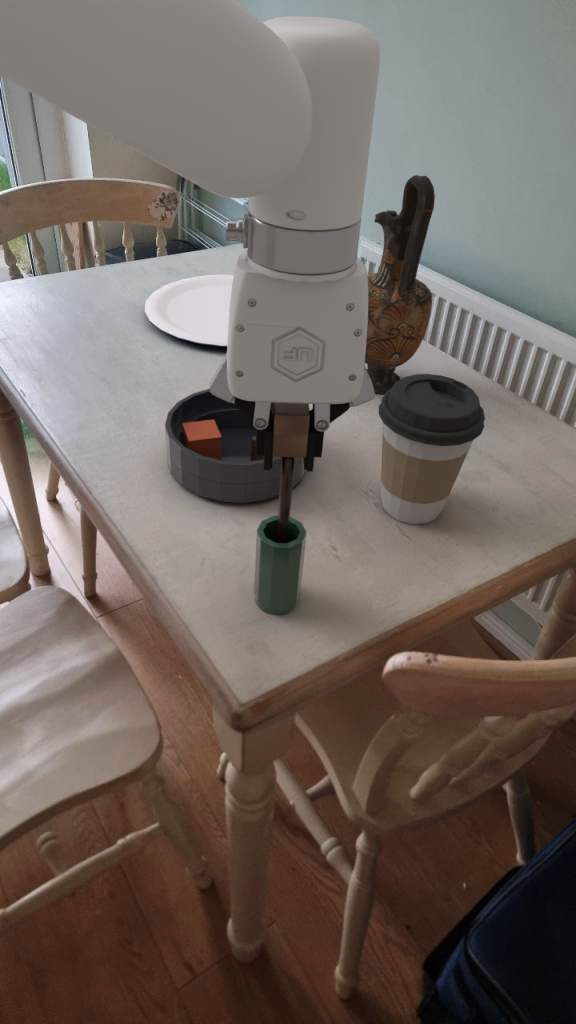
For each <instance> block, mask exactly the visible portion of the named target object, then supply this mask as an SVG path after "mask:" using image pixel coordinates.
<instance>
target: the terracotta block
mask: <svg viewBox="0 0 576 1024" xmlns="http://www.w3.org/2000/svg"><path fill="white" fill-rule="evenodd" d="M182 429H183V446H184V447H186V448H188V449H190V450H192V451H194V452H195V453H197V454H199V455H201V456H205V457H209V458H213V459H217V460H221V461H222V437H221V434H220V432H219V430H218V427H217V425H216V423H215V420H214V419H213V420H205V421H196V422H188V423H182Z"/></svg>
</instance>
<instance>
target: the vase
mask: <svg viewBox="0 0 576 1024" xmlns="http://www.w3.org/2000/svg"><path fill="white" fill-rule="evenodd" d="M435 199H436V194H435V187H434V185H433V182H432V181H431V179H430V178H429V177H428V176H427V175H419V174H415V175H412V176H411V177H410V178H409V179H408V180H406V182H405V185H404V188H403V195H402V200H401V202H402V203H401V210H400V212H399V214H398V212H397V211H395V210H390V209H388V210H386V211H381V212H377V213H376V214H375V217H374V220H373V221H374V224H375V223H376V224H379V225H380V226H381V228H382V231H383V248H382V249H383V250H382V254H381V260H380V264H379V266H378V270H377V272H374V273H373V272H372V273H369V274H367V278H368V325H367V340H366V353H365V364H366V366H367V368H366V370H367V372H368V375H369V377H370V379H371V382H372V384H373V388H374V392H375V394H380V395H385V393H386V392H387V391H388V390H390V389H392V387H393V386H394V384H395V383H396V382H397V381H399V380H400V379H402V378H401V377H400V376H399V375H398V374H397V373H396V368H397V367H400V366H402V365H404V364H405V363H407V362H408V361H410V359H412V357H413V356H414V355H415V354H416V352H417V351H418V349H419V348H420V346H421V344H422V342H423V340H424V337H425V335H426V333H427V329H428V326H429V323H430V320H431V319H430V318H431V313H432V307H433V297H432V292H431V290H430V288H429V287H428V286H427V285H426V284H425V283H424V282H422V281H421V280H419V279H418V278H417V274H418V270H419V265H420V261H421V258H422V253H423V250H424V247H425V246H424V245H425V242H426V238H427V234H428V229H429V226H430V222H431V219H432V216H433V212H434V209H435V201H436V200H435Z"/></svg>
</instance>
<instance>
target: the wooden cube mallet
mask: <svg viewBox="0 0 576 1024" xmlns="http://www.w3.org/2000/svg"><path fill="white" fill-rule="evenodd" d="M309 423H310V404H303V403H274V402H273V451H272V456H273V457H282V459H281V476H280V492H279V495H278V509H277V516H278V524H277V541H276V543H288V536H289V523H290V517H291V508H292V498H293V497H292V495H293V487H292V484H293V471H294V457H303V458H306V456H307V445H308V434H309Z"/></svg>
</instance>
